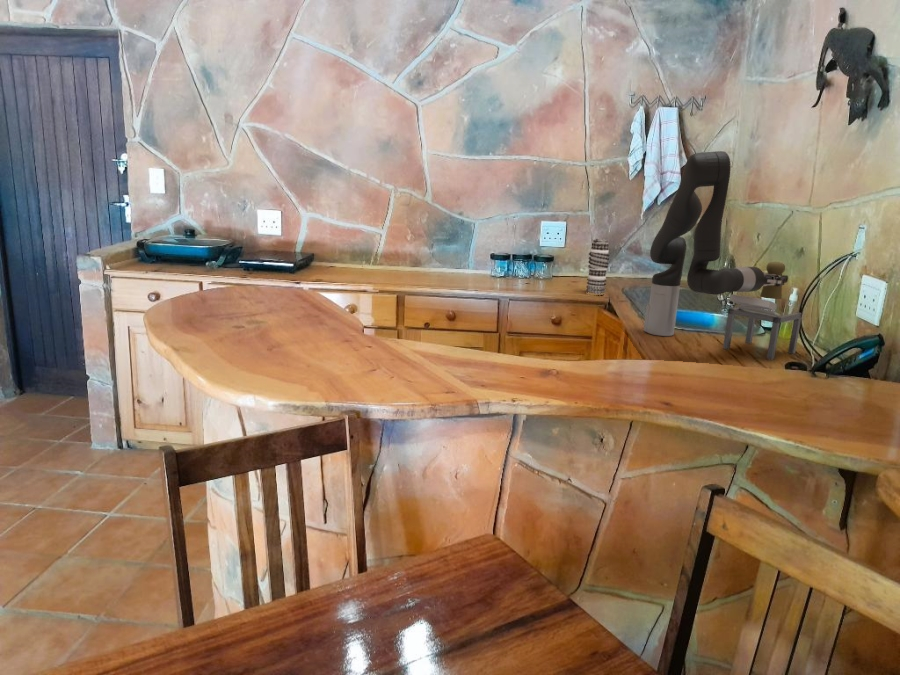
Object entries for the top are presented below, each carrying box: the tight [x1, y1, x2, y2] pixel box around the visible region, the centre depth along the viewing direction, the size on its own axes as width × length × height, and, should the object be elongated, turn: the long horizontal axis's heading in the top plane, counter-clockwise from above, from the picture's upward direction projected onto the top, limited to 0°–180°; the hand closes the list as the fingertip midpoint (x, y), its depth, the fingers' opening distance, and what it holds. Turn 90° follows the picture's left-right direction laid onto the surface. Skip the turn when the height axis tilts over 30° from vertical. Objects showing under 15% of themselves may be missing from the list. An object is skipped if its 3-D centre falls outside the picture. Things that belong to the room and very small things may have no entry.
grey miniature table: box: [722, 306, 803, 361], centre depth 204 cm, size 16×16×13 cm
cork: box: [760, 261, 786, 300], centre depth 202 cm, size 6×6×11 cm
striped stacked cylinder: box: [585, 238, 610, 294], centre depth 292 cm, size 9×9×25 cm
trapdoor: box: [729, 293, 793, 323], centre depth 201 cm, size 12×18×3 cm, turn 128°
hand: (780, 277), depth 203 cm, fingers closed on cork, 3 cm apart
